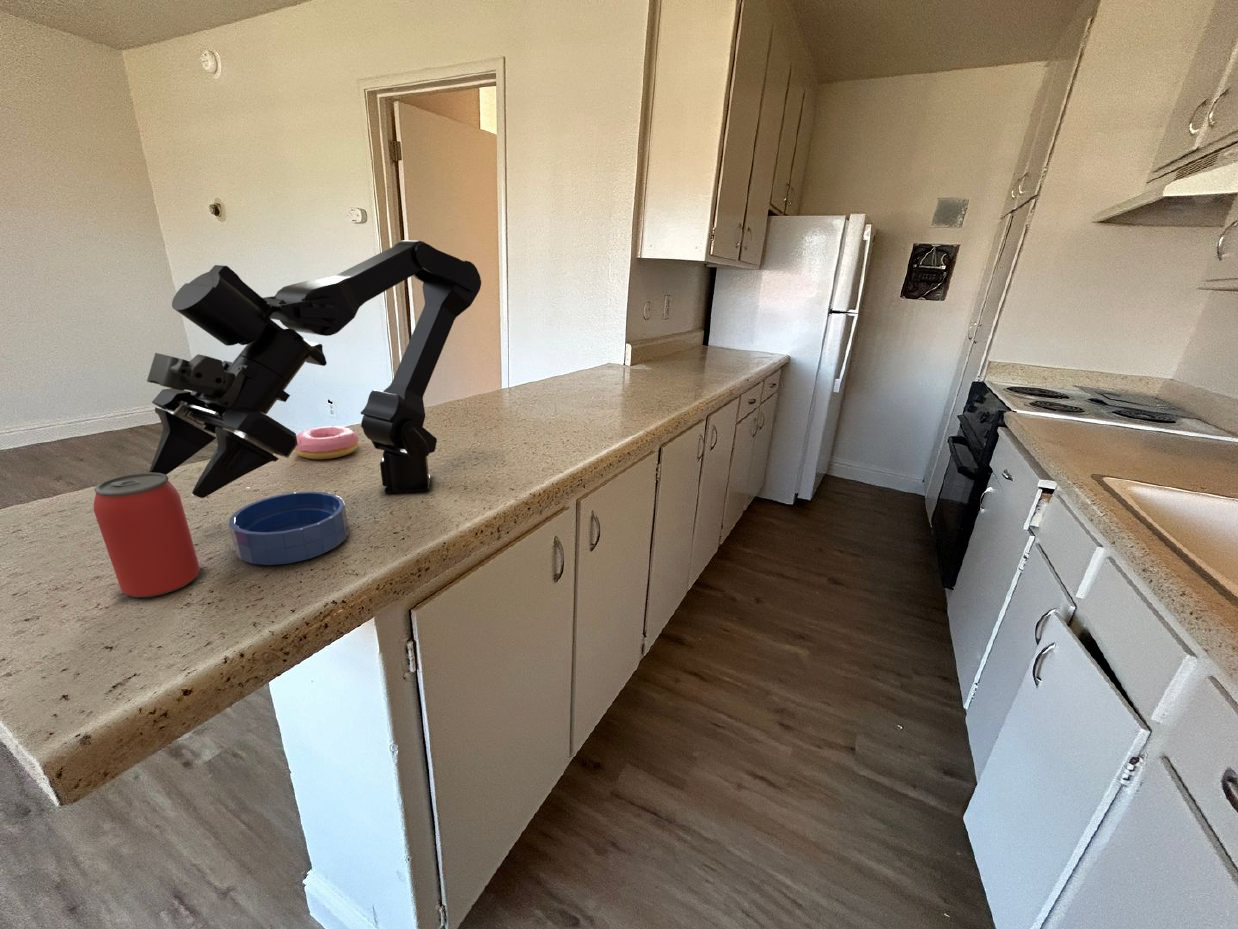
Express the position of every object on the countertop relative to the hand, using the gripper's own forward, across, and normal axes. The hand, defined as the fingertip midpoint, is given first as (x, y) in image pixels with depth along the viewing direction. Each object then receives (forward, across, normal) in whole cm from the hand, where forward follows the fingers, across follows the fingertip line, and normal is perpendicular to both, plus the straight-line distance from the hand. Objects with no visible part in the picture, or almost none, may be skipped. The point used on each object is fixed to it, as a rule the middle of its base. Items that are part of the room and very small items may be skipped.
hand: (174, 486), depth 55 cm
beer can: (+10, 0, +5) cm, 11 cm away
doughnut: (-16, -25, +30) cm, 42 cm away
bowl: (+1, +3, +14) cm, 14 cm away
